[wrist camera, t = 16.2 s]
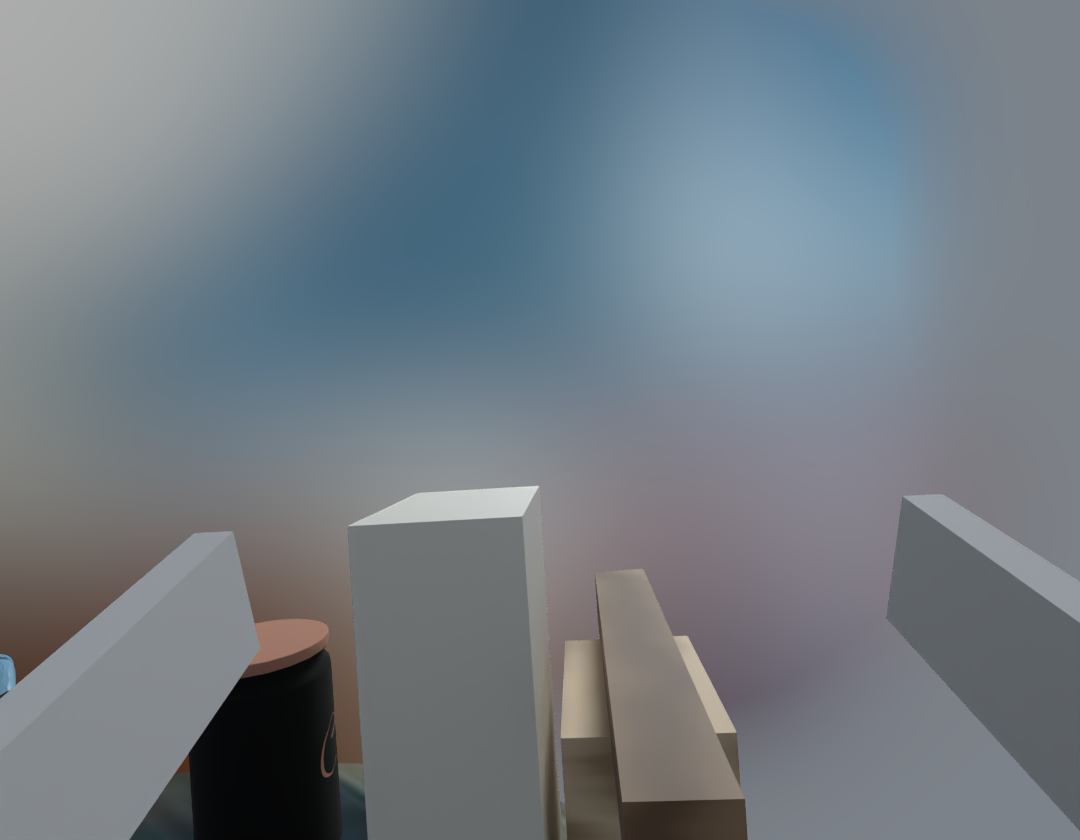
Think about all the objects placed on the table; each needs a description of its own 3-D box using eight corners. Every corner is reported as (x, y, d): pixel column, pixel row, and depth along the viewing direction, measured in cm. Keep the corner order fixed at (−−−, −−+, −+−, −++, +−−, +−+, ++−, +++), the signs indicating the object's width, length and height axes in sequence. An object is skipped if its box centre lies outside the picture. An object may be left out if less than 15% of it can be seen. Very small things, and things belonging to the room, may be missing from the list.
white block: (390, 1185, 27) (347, 526, 27) (447, 949, 39) (417, 492, 39) (566, 1188, 26) (522, 516, 26) (569, 948, 38) (539, 485, 38)
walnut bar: (630, 922, 17) (622, 801, 17) (597, 619, 43) (594, 571, 43) (753, 921, 17) (744, 799, 17) (646, 617, 43) (643, 568, 43)
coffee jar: (357, 873, 46) (342, 642, 46) (199, 944, 41) (182, 681, 41) (328, 803, 55) (315, 610, 55) (196, 852, 50) (182, 638, 50)
